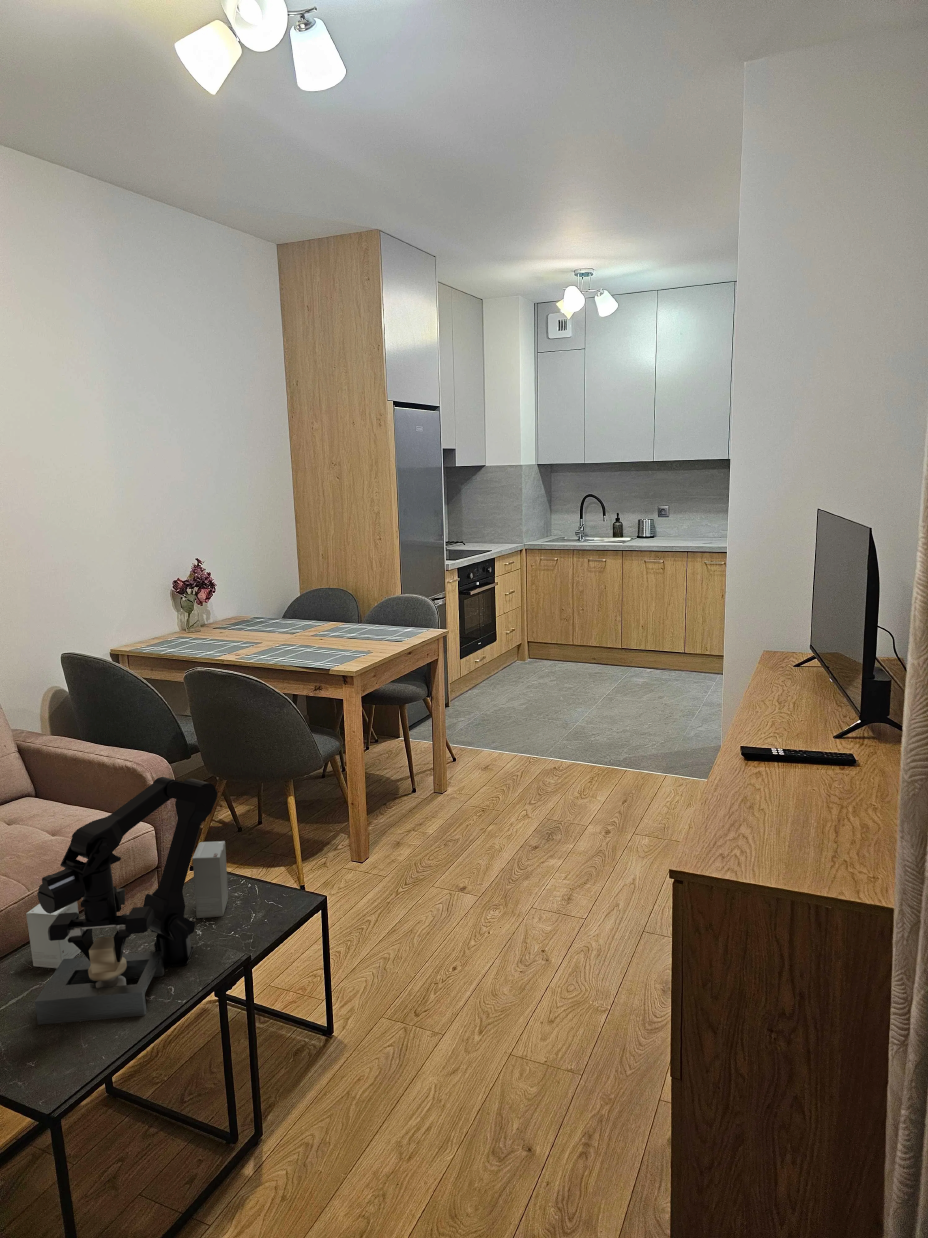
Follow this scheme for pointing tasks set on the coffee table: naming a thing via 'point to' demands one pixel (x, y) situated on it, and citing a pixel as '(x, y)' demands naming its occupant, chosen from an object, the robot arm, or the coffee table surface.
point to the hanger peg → (106, 964)
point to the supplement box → (41, 946)
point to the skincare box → (210, 879)
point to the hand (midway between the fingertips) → (106, 962)
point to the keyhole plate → (96, 991)
